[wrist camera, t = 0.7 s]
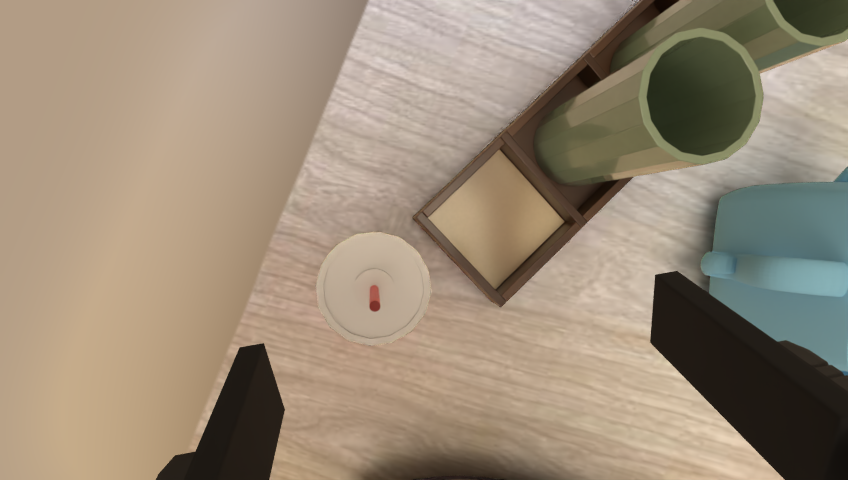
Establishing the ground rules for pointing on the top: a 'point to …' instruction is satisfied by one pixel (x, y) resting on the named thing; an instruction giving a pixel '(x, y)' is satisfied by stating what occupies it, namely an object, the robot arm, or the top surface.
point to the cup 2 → (748, 28)
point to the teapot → (786, 262)
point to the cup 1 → (655, 113)
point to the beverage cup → (373, 288)
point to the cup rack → (524, 185)
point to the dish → (458, 478)
